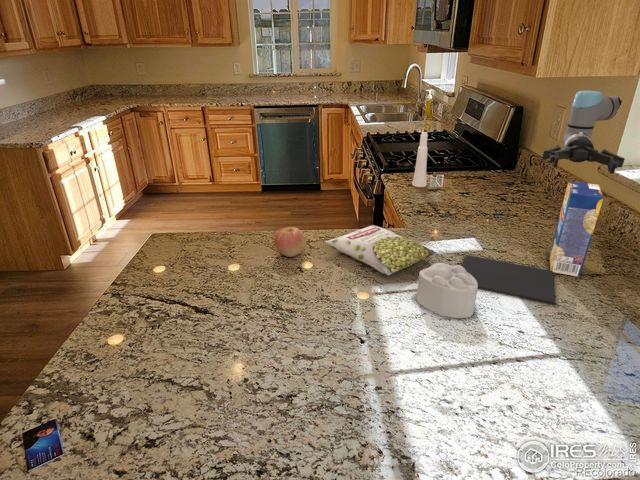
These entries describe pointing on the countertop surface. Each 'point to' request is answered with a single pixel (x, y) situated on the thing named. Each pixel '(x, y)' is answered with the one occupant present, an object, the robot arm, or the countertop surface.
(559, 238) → the beverage box
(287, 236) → the apple
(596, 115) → the robot arm
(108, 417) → the countertop surface
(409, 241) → the frozen beans
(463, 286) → the lumpy-topped squat cylinder
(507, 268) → the mat
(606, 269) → the countertop surface
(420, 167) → the cosmetic bottle
